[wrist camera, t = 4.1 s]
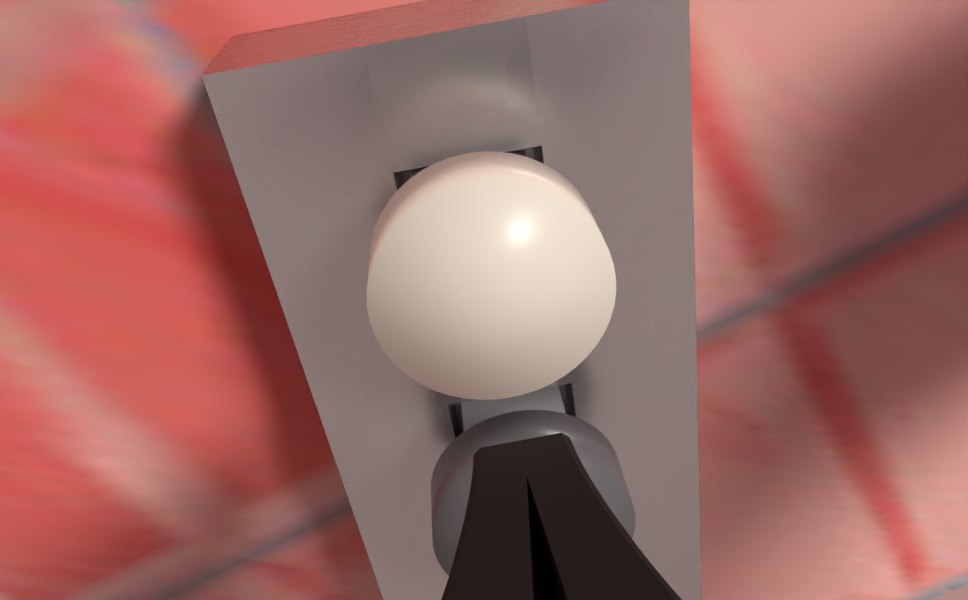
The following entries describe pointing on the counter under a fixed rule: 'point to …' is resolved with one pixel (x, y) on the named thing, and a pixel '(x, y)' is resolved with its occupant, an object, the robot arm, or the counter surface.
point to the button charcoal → (510, 424)
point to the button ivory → (488, 276)
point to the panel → (454, 131)
